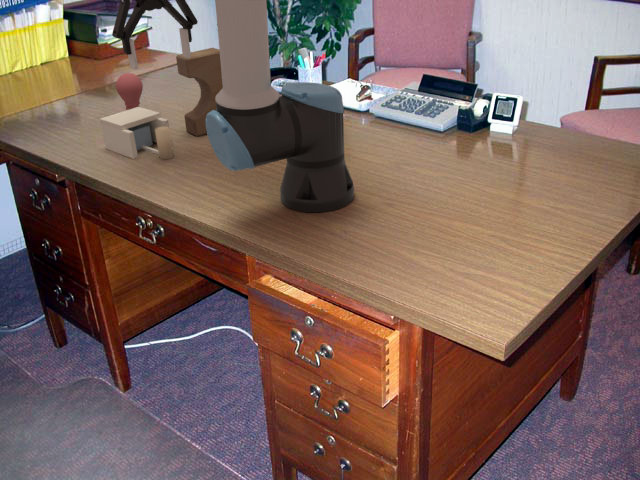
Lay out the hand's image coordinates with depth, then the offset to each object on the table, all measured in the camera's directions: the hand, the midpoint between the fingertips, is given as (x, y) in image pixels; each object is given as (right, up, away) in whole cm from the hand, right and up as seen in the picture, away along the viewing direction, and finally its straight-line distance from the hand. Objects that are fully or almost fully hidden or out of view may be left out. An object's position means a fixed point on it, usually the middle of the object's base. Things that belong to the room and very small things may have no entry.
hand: (161, 62), depth 165 cm
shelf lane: (-8, -18, +12) cm, 23 cm away
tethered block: (-5, -19, +9) cm, 22 cm away
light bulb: (-15, -7, +34) cm, 38 cm away
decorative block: (+8, -13, +21) cm, 26 cm away
